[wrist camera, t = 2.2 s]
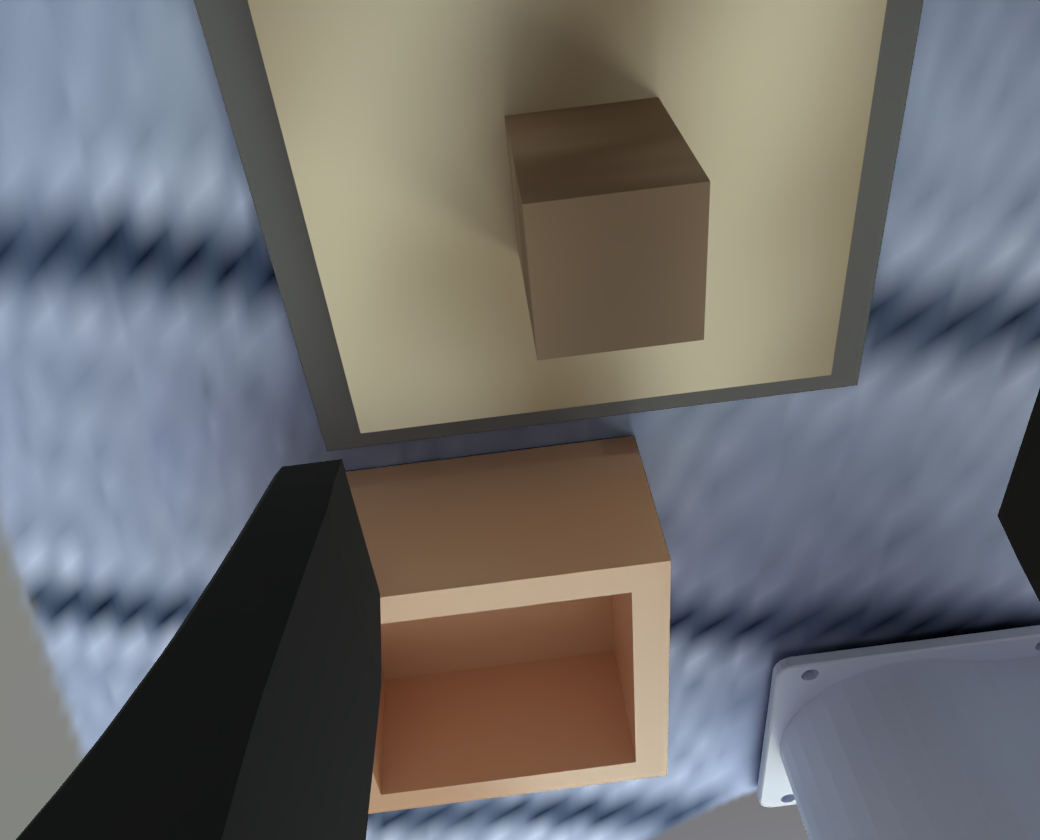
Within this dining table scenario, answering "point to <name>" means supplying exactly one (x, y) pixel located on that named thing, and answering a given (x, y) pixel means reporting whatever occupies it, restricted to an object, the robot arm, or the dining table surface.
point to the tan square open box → (517, 623)
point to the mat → (322, 365)
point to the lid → (573, 192)
